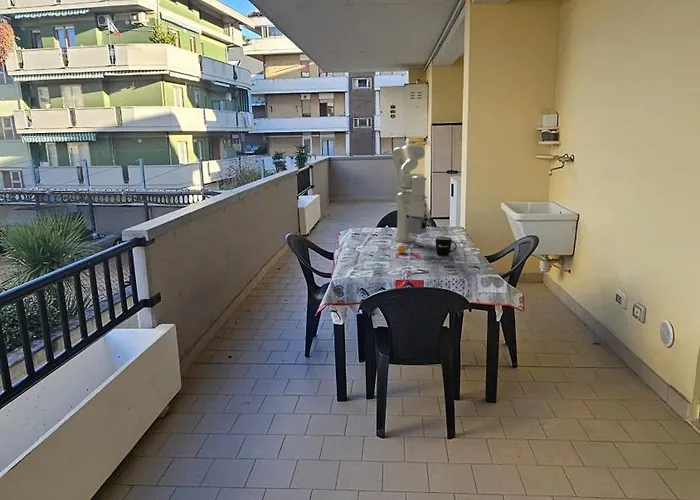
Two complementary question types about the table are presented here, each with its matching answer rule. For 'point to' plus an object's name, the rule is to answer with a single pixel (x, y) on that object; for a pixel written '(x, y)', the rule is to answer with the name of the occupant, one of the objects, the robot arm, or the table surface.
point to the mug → (444, 245)
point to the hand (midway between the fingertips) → (417, 227)
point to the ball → (401, 249)
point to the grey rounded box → (415, 225)
